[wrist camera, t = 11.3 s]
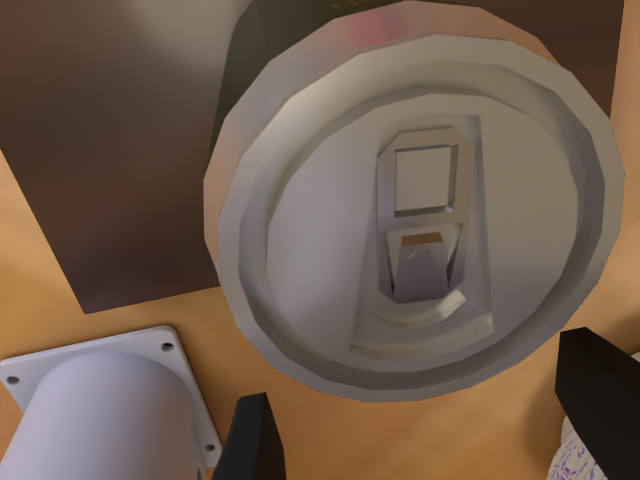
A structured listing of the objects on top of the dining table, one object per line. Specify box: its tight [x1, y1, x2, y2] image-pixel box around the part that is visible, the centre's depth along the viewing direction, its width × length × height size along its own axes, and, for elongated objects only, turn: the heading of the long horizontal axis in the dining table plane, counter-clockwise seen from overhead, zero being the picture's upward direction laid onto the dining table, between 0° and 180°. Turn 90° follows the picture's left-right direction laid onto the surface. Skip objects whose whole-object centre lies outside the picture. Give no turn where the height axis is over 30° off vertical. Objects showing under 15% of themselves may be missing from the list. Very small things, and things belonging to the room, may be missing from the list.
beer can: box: [203, 0, 625, 402], centre depth 11 cm, size 5×5×12 cm
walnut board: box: [0, 0, 624, 314], centre depth 17 cm, size 15×21×2 cm
